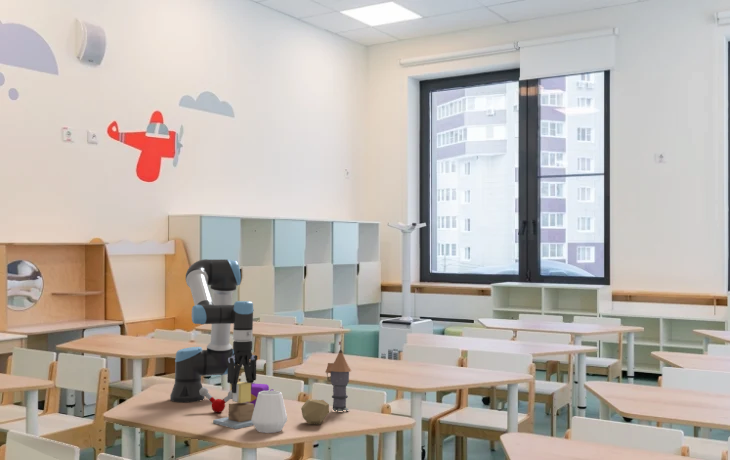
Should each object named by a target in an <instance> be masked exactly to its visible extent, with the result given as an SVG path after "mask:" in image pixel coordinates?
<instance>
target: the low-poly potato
mask: <svg viewBox="0 0 730 460" xmlns="http://www.w3.org/2000/svg"><path fill="white" fill-rule="evenodd" d="M300 409H301V415H302V418H303V419H304V420H305V422H306V423H307V424H308V425H321V424H322V423H323V420H324V419H325V417H326V416H327V415H328V414H329V413H330V406H329V403H328V402H326V401H325V400H324V399H311V398H308V399H306V400H305V402H304V404H303V405H302V406H301V407H300Z"/></svg>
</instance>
